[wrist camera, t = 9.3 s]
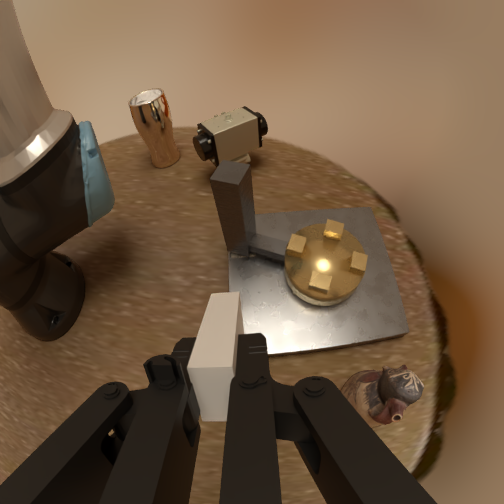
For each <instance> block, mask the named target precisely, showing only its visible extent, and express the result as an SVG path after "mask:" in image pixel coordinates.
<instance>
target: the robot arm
mask: <svg viewBox="0 0 504 504" xmlns="http://www.w3.org/2000/svg"><path fill="white" fill-rule="evenodd" d="M114 201H115V198H114V193H113V190H112V186H111V183H110V180H109V177H108V174H107V171H106V168H105V164H104V161H103V158H102V155H101V152H100V149H99V146H98V143H97V139H96V136H95V133H94V130H93V128H92V125H91V122H89V121H85V122H80V123H79V125H77V124H76V122H75V120H74V118H73V116H72V114H71V113H70V112H68V111H64V110H58V109H54V108H53V107H52V105H51V103H50V101H49V99H48V97H47V94H46V92H45V90H44V88H43V85H42V83H41V81H40V79H39V76H38V74H37V71H36V69H35V67H34V64H33V62H32V59H31V56H30V54H29V51H28V49H27V46H26V43H25V40H24V38H23V35H22V32H21V29H20V26H19V22H18V19H17V16H16V13H15V9H14V5H13V2H12V0H0V305H1V306H3V307H4V308H6V309H7V310H9V311H10V312H11V314H12V315H13V316H14V317H15V319H16V320H17V321H18V322H19V324H20V325H21V326H22V327H23V328H24V329H25V331H26V332H28V333H29V334H30V335H32V336H34V337H36V338H38V339H40V340H43V341H51V340H55V339H57V338H59V337H61V336H62V335H63V334H65V333H66V332H67V331H68V330H69V329H70V327H71V326H72V325H73V323H74V322H75V320H76V318H77V316H78V314H79V312H80V310H81V307H82V303H83V299H84V292H85V283H84V277H83V274H82V271H81V270H80V268H79V267H78V265H77V264H75V263H74V262H73V261H72V260H71V259H70V258H69V257H67V256H66V255H63V254H61V253H58V252H56V251H53V249H55V248H56V247H58V246H59V245H61V244H62V243H64V242H65V241H67V240H68V239H70V238H71V237H73V236H74V235H76V234H78V233H79V232H81V231H82V230H84V229H85V228H87V227H91V226H92V225H93V223H94V222H96V221H97V220H98V219H100V218H101V217H103V216H104V215H106V214H107V213H109V212H110V211H111V210H112V208H113V205H114ZM143 366H144V368H145V371H146V374H147V377H148V380H149V382H150V384H149V386H148V388H145V389H141V390H134V391H129V389H128V387H127V386H126V385H125V384H123V383H121V382H109V383H107V384H104V385H102V386H101V387H100V388H98V389H97V390H96V391H95V392H94V393H93V394H92V395H91V396H90V397H89V398H88V399H87V400H86V401H85V402H84V403H83V404H82V405H81V406H80V407H79V408H78V409H77V410H76V411H75V412H74V413H73V414H72V415H71V416H70V417H69V418H68V419H67V420H66V421H65V422H64V423H62V424H61V425H60V426H59V427H58V428H57V429H56V430H55V431H54V432H53V433H52V434H51V435H50V436H49V437H48V438H47V439H46V440H45V441H44V442H43V443H42V444H41V445H40V446H39V447H38V448H37V449H36V450H35V451H34V452H33V453H32V454H31V455H30V456H29V457H28V458H27V459H26V460H25V461H24V462H23V463H22V464H21V465H20V466H19V467H18V468H17V469H16V470H15V471H14V472H13V473H12V474H11V475H10V476H9V477H8V478H7V479H6V480H5V481H4V482H3V483H2V484H1V485H0V504H189V498H190V492H191V486H192V480H193V474H194V468H195V462H196V456H197V450H198V444H199V438H200V433H201V429H200V425H199V422H198V420H199V415H200V414H201V418H202V421H227V423H226V434H225V445H224V456H223V467H222V478H221V490H220V501H219V504H282V501H281V489H280V477H279V466H278V455H277V443H276V439H282V440H289V441H294V444H295V446H296V447H297V449H298V451H299V453H300V455H301V457H302V459H303V461H304V463H305V465H306V466H307V468H308V470H309V472H310V474H311V476H312V477H313V479H314V481H315V483H316V485H317V487H318V488H319V490H320V492H321V494H322V496H323V497H324V499H325V501H326V503H327V504H437V503H436V502H435V501H434V499H433V498H432V497H431V496H430V495H429V494H428V493H427V492H426V491H425V489H424V488H423V487H422V486H421V485H420V484H419V483H418V482H417V480H416V479H415V478H414V477H413V476H412V475H411V474H410V473H409V471H408V470H407V469H406V468H405V467H404V466H403V465H402V463H401V462H400V461H399V460H398V459H397V458H396V456H395V455H394V454H393V453H392V452H391V451H390V450H389V448H388V447H387V446H386V445H385V444H384V443H383V441H382V440H381V439H380V438H379V437H378V436H377V434H376V433H375V432H374V431H373V430H372V428H371V427H370V426H369V425H368V424H367V423H366V421H365V420H364V419H363V418H362V417H361V415H360V414H359V413H358V412H357V411H356V410H355V408H354V407H353V406H352V405H351V404H350V402H349V401H348V400H347V399H346V398H345V396H344V395H343V394H342V393H341V392H340V390H339V389H338V388H337V387H336V385H335V384H334V383H333V382H332V381H330V380H329V379H327V378H324V377H318V376H312V377H306V378H304V379H302V380H300V381H298V382H297V383H296V384H295V386H288V385H283V384H280V383H278V382H276V381H275V380H273V379H272V377H271V375H270V371H269V361H268V351H267V341H266V337H265V336H264V335H263V334H262V333H250V334H244V326H243V318H242V309H241V301H240V292H227V293H214V294H211V297H210V300H209V303H208V306H207V309H206V312H205V315H204V317H203V320H202V323H201V326H200V329H199V332H198V335H197V337H193V338H182V339H181V340H180V341H179V342H177V343H176V345H175V347H174V349H173V352H172V354H171V355H167V354H164V355H158V356H154V357H152V358H150V359H148V360H147V361H146V362H145V363H144V364H143ZM112 429H113V431H114V433H113V434H112V435H111V436H109V435H108V433H109V432H110V431H111V430H112Z"/></svg>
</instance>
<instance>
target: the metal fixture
mask: <svg viewBox="0 0 504 504" xmlns="http://www.w3.org/2000/svg"><path fill="white" fill-rule="evenodd" d="M210 183H211V187H212V191H213V195H214V199H215V203H216V207H217V211H218V215H219V219H220V223H221V227H222V231H223V235H224V239H225V242H226V246H227V250H228V251H229V252H233V253H236V254H239V255H243V256H246V257H249V256H250V254H251V252H254V253H257V254H261V255H264V256H268V257H271V258H275V259H278V260H282V261H284V274H285V278H286V281H287V283H288V285H289V287H290V288H291V290H292V291H293V292H294V293H295V294H296V295H297V296H298V297H299V298H301V299H302V300H304V301H306V302H308V303H311V304H314V305H319V306H330V305H335V304H339V303H341V302H343V301H345V300H346V299H348V298H349V297H350V296H351V295H352V294H353V293H354V291H355V290H356V288H357V287H358V285H359V283H360V282H361V280H362V278H363V277H364V274H365V271H366V263H367V257H368V255H366V254H365V252H364V249H363V247H362V245H361V244H360V242H359V241H358V240H357V239H356V237H354V236H353V235H352V234H351V233H350V232H348V231H347V230H345V229H343V228H344V223H340V222H337V221H333V220H330V219H327V223H326V224H313V225H309V226H306V227H304V228H302V229H300V230H299V231H297V232H296V233H295V234H292V236H291V238H290V240H289V242H287V241H283V240H279V239H276V238H272V237H268V236H265V235H261V234H257V233H256V222H255V211H254V200H253V189H252V178H251V168H250V164H244V163H239V162H233V161H227V160H222V161H221V163H220V164H219V166H218V167H217V169H216V170H215V172H214V173H213V175H212V176H211V178H210Z"/></svg>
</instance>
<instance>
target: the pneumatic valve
mask: <svg viewBox="0 0 504 504" xmlns="http://www.w3.org/2000/svg"><path fill="white" fill-rule="evenodd" d="M197 126H198V130H197V132H198V135H197V136H195V137H193V144H194V147H195V150H196V152H197V154H198V155H199V157H200V158H201V159H202V160H203V161H206V160H208V159H209V160H210V161H211V162H212V163H213V164H214V165H215V166H216V167H217V166H219V164H220V163H221V161H222V160H227V161H233V162H239V163H244V164H249V163H250V161H251V160H250V156H249V155H248V152H250V151H252V150H255V149H257V148H259V147H262V141H263V139H262V136H264V135H266V134H267V132H268V127H267V122H266V120H265V118H264V117H263V116H262V115H261V114H260V113H258V112H253V111H252V110H250V109H248V108H247V107H245V106H244V107H241V108H238V109H236V110H233V111H230V112H227V113H225V112H222V113H221V115H220V116H218V115H215V116H214V118H212V119H209V120H207V121H205V122H202V123H200V124H197Z"/></svg>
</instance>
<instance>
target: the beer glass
mask: <svg viewBox="0 0 504 504" xmlns="http://www.w3.org/2000/svg"><path fill="white" fill-rule="evenodd" d="M128 104H129V107H130V111H131V115H132V118H133V121H134V124H135V126H136V129H137V130H138V132H139V134H140V136H141V137H142V139H143V140H144V142H145V143H146V145H147V147H148V149H149V151H150V154H151V160H152V164H153V165H154V166H155V167H157V168H165V167H169V166H171V165H173V164H174V163H176V162H177V161H178V159H179V158H180V151H179V150H178V148H177V146H176V144H175V141H174V138H173V127H172V119H171V113H170V109H169V105H168V103H167V100H166V97H165V95H164V91H163V90H162V89H159V88H156V89H150V90H147V91H143V92H141V93H139V94H138V95H135V96H134V97H133V98H132V99H131V100H130V101H129V103H128Z"/></svg>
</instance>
